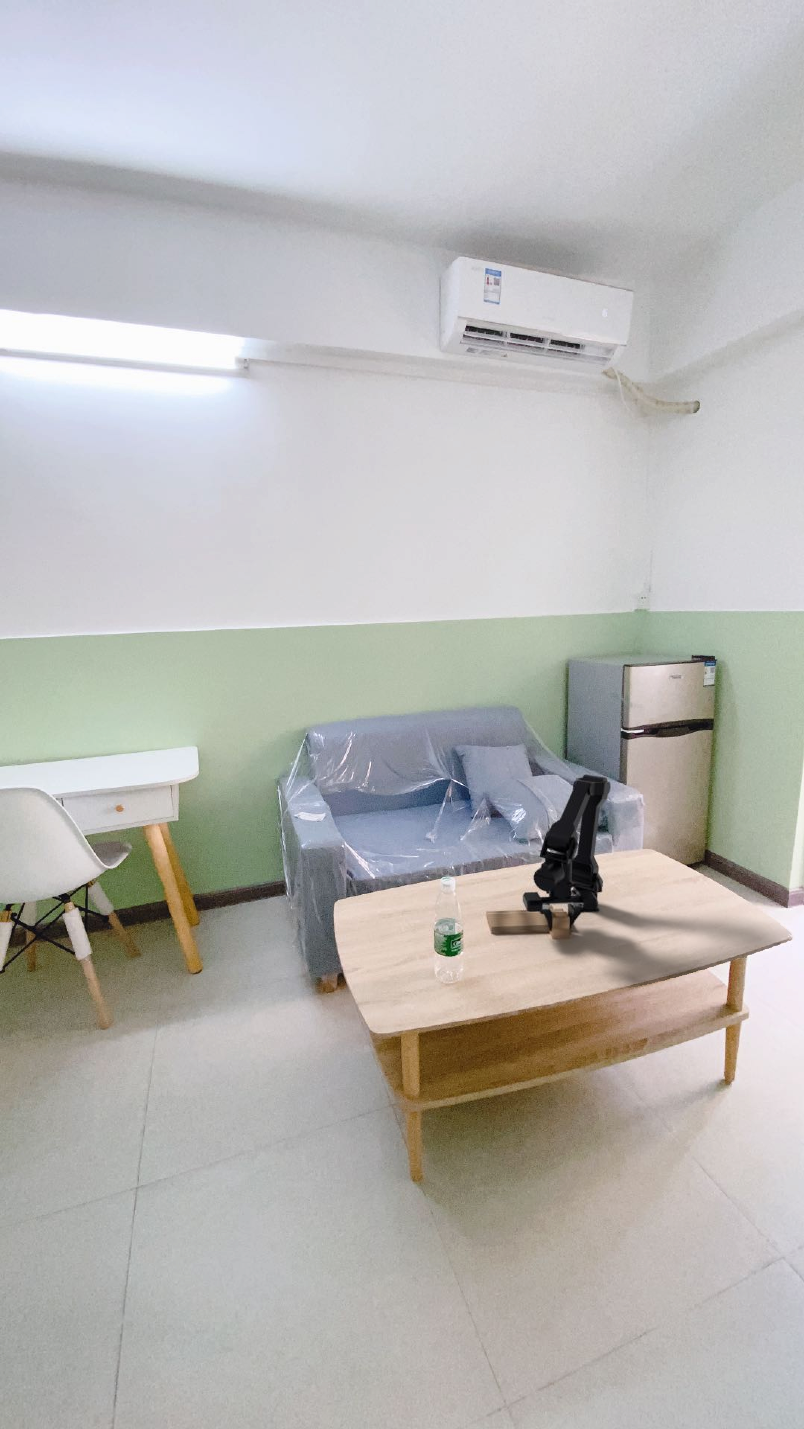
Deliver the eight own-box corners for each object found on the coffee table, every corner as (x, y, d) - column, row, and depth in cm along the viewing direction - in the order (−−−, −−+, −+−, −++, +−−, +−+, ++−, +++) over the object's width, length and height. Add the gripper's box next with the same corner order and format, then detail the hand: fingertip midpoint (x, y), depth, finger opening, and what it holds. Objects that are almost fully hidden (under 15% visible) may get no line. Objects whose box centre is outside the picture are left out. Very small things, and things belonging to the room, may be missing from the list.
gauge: (557, 916, 155) (557, 897, 154) (569, 938, 145) (569, 917, 144) (541, 917, 155) (542, 897, 154) (552, 938, 144) (552, 917, 143)
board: (562, 915, 156) (562, 908, 155) (571, 930, 148) (571, 923, 148) (486, 917, 156) (486, 911, 155) (491, 933, 148) (491, 926, 147)
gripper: (584, 861, 151) (583, 912, 154) (518, 863, 151) (517, 915, 154) (599, 880, 140) (597, 935, 143) (528, 882, 140) (527, 937, 143)
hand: (559, 929), depth 146 cm, fingers closed on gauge, 4 cm apart
